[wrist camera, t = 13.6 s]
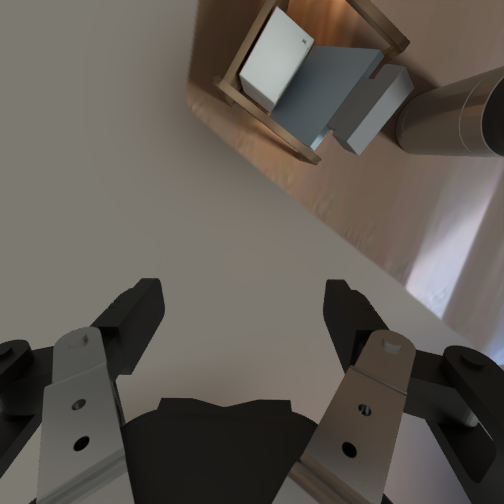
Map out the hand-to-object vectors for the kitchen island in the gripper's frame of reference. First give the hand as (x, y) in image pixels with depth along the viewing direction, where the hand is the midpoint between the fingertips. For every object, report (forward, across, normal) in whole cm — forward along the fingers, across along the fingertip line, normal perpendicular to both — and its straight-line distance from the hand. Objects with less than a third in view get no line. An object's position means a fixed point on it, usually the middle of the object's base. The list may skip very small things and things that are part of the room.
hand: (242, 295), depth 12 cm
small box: (+36, -3, -17) cm, 40 cm away
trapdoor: (+28, -11, -12) cm, 32 cm away
